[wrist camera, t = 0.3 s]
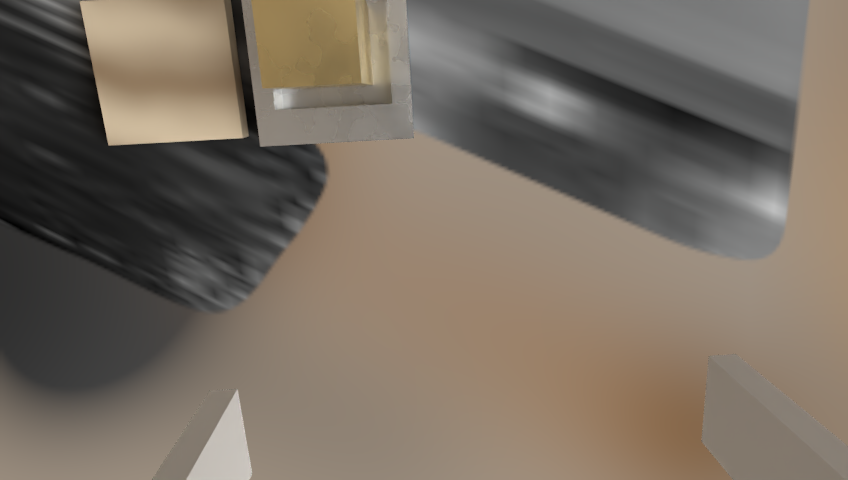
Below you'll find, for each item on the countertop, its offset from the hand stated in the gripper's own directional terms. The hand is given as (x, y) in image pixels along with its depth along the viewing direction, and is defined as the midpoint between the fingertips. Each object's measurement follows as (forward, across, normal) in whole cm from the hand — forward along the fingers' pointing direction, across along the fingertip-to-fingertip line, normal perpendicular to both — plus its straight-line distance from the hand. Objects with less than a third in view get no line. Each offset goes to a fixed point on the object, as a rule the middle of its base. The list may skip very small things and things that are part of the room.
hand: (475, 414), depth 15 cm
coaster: (+26, -17, +11) cm, 33 cm away
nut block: (+26, -6, +12) cm, 29 cm away
